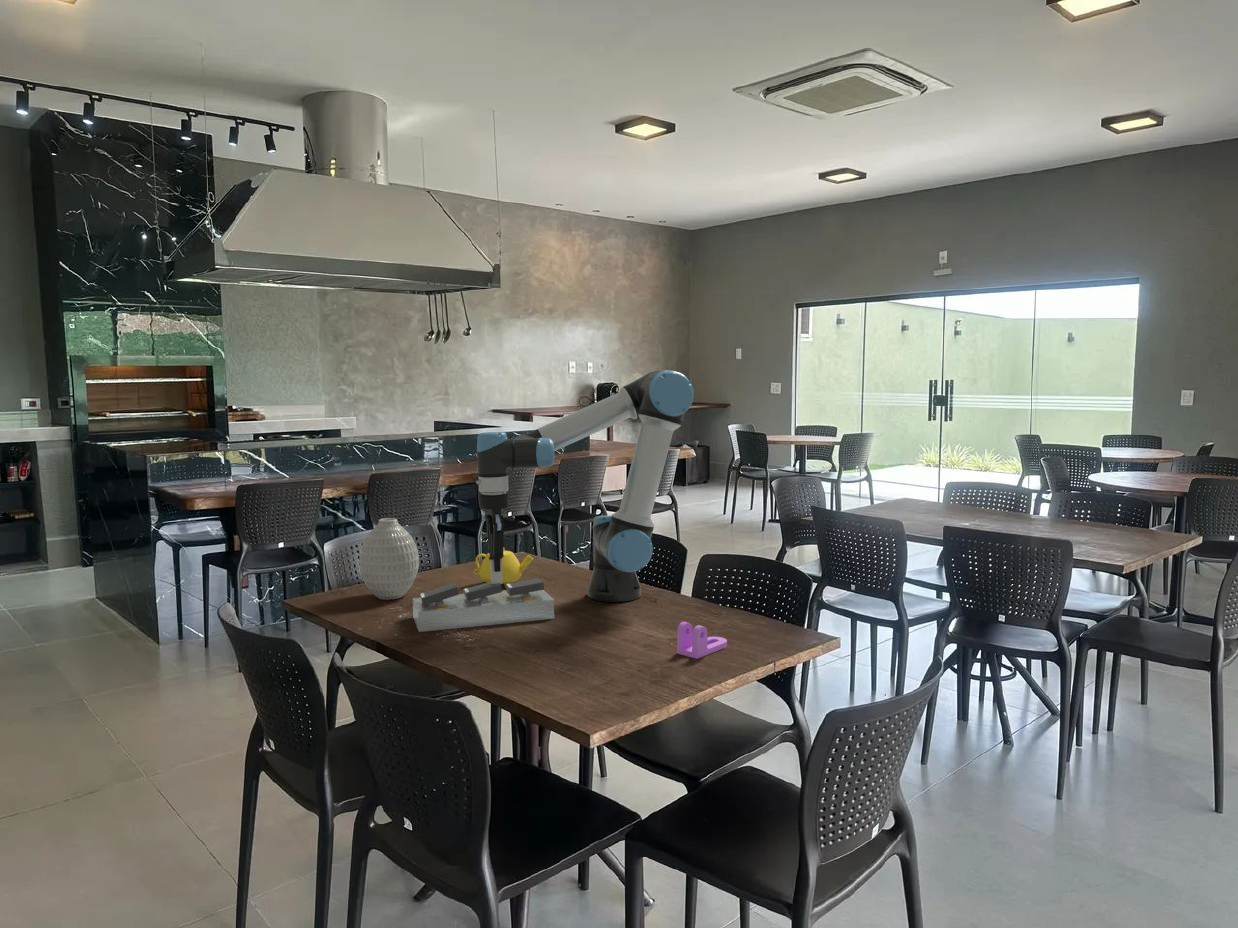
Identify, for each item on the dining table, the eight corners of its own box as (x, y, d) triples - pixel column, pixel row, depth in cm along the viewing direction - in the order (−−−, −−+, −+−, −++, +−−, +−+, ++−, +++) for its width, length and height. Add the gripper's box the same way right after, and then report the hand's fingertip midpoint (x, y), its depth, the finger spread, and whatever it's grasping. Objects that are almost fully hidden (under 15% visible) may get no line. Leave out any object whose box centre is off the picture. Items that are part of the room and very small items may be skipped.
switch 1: (456, 589, 220) (454, 582, 220) (459, 594, 215) (456, 586, 215) (421, 601, 217) (419, 593, 217) (424, 605, 213) (421, 598, 212)
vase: (431, 594, 245) (429, 517, 243) (388, 607, 232) (386, 525, 229) (392, 587, 254) (389, 513, 252) (348, 599, 240) (345, 520, 238)
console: (541, 605, 232) (540, 584, 232) (554, 618, 219) (553, 596, 219) (413, 617, 221) (412, 595, 221) (418, 631, 208) (418, 609, 208)
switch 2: (498, 587, 224) (497, 579, 223) (502, 591, 219) (500, 584, 218) (464, 596, 221) (463, 588, 220) (467, 600, 216) (466, 593, 216)
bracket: (697, 659, 187) (697, 628, 186) (677, 654, 191) (677, 623, 190) (731, 645, 196) (732, 616, 196) (712, 640, 200) (712, 611, 200)
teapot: (495, 592, 247) (495, 554, 246) (468, 584, 257) (468, 548, 256) (535, 584, 257) (534, 547, 256) (507, 577, 267) (507, 541, 266)
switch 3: (539, 585, 227) (538, 577, 227) (544, 589, 222) (543, 581, 222) (506, 591, 224) (505, 583, 224) (510, 596, 220) (509, 588, 219)
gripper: (474, 490, 223) (478, 579, 226) (483, 496, 211) (486, 590, 213) (503, 488, 226) (506, 576, 228) (513, 494, 213) (516, 587, 216)
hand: (496, 583), depth 221 cm, fingers closed
